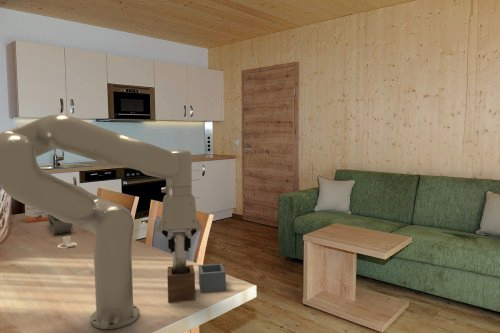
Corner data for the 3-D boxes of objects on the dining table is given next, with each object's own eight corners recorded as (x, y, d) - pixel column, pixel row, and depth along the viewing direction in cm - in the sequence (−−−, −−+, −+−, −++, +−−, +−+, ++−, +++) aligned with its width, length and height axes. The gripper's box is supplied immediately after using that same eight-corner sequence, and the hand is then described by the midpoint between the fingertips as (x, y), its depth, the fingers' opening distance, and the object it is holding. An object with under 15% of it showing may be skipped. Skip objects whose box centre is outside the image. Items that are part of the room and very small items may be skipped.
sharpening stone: (73, 234, 185) (72, 212, 184) (55, 237, 181) (54, 214, 179) (64, 224, 205) (63, 204, 204) (48, 226, 201) (47, 206, 200)
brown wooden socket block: (195, 299, 115) (194, 274, 114) (168, 302, 113) (167, 276, 112) (193, 289, 122) (193, 265, 122) (168, 291, 121) (167, 266, 120)
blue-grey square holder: (225, 290, 121) (225, 272, 121) (200, 292, 120) (200, 274, 119) (222, 280, 129) (222, 263, 129) (198, 282, 128) (198, 265, 127)
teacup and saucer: (76, 248, 165) (76, 239, 165) (56, 250, 162) (55, 241, 162) (77, 242, 173) (77, 234, 173) (58, 244, 170) (57, 235, 170)
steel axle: (186, 278, 115) (186, 233, 114) (173, 279, 114) (172, 233, 113) (186, 273, 119) (185, 229, 118) (173, 274, 118) (172, 230, 117)
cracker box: (25, 223, 208) (23, 185, 206) (26, 220, 213) (23, 183, 211) (54, 220, 215) (52, 183, 213) (54, 217, 220) (52, 182, 218)
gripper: (149, 193, 109) (150, 256, 111) (208, 192, 112) (208, 252, 114) (151, 190, 116) (151, 248, 118) (205, 188, 120) (205, 245, 121)
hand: (179, 250), depth 116 cm, fingers closed on steel axle, 4 cm apart
